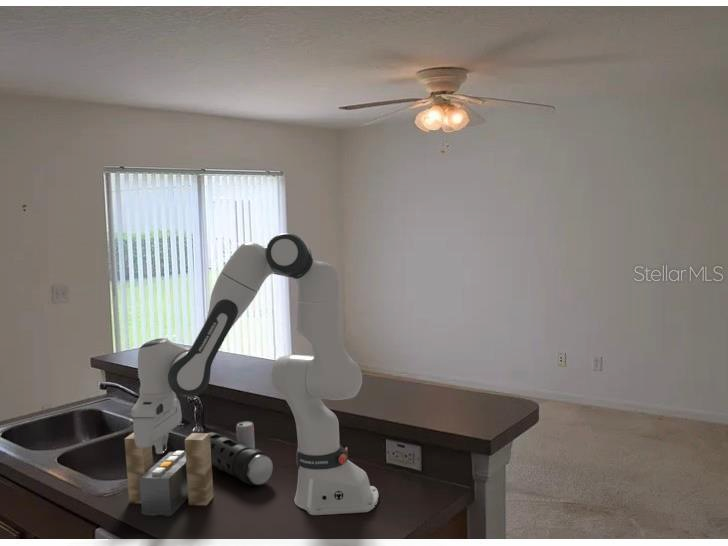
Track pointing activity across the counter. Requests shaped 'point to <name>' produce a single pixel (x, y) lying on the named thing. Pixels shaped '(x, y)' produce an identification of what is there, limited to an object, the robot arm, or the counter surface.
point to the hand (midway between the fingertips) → (161, 451)
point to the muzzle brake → (240, 460)
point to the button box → (165, 485)
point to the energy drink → (246, 433)
